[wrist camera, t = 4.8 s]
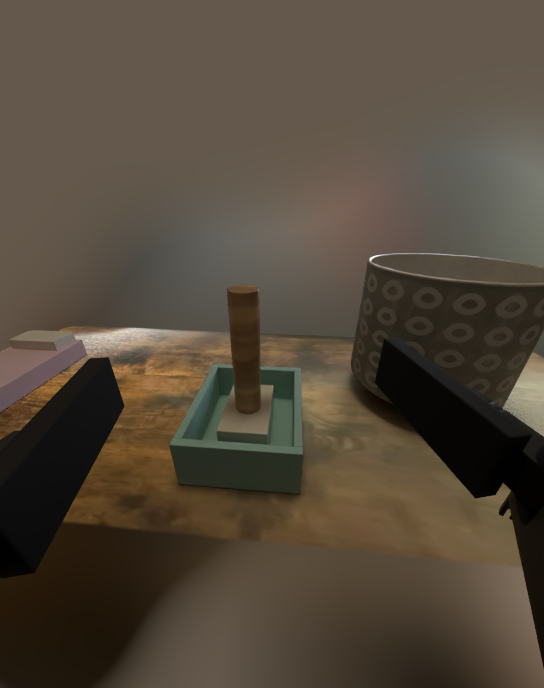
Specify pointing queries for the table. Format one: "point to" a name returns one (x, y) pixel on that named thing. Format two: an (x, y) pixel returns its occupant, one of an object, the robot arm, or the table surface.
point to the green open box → (242, 458)
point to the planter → (452, 317)
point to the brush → (246, 374)
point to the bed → (35, 362)
